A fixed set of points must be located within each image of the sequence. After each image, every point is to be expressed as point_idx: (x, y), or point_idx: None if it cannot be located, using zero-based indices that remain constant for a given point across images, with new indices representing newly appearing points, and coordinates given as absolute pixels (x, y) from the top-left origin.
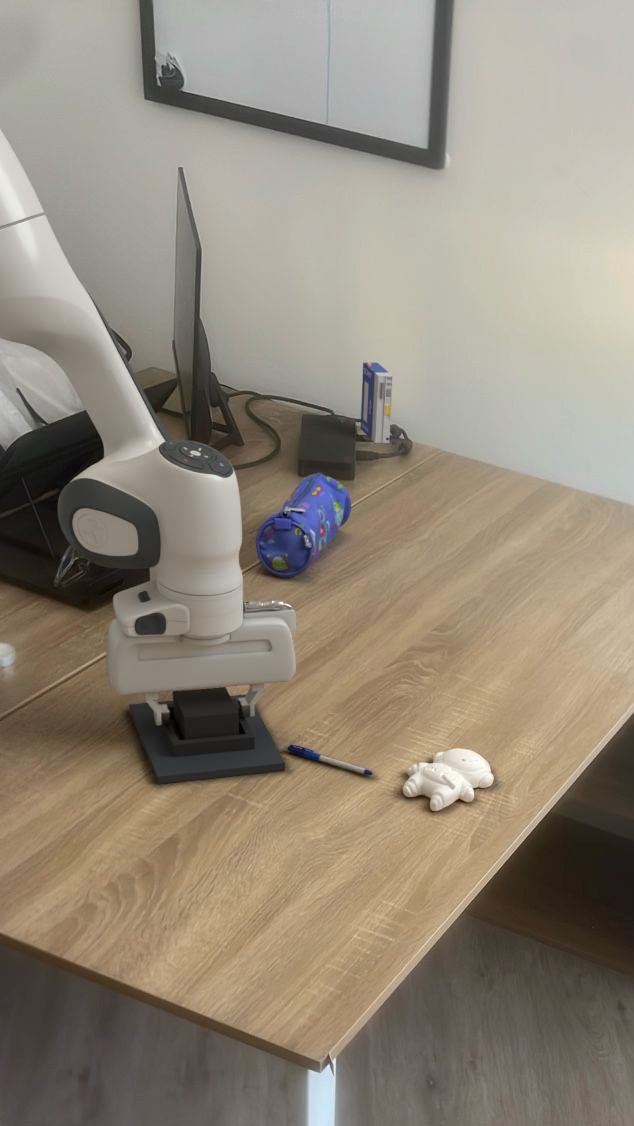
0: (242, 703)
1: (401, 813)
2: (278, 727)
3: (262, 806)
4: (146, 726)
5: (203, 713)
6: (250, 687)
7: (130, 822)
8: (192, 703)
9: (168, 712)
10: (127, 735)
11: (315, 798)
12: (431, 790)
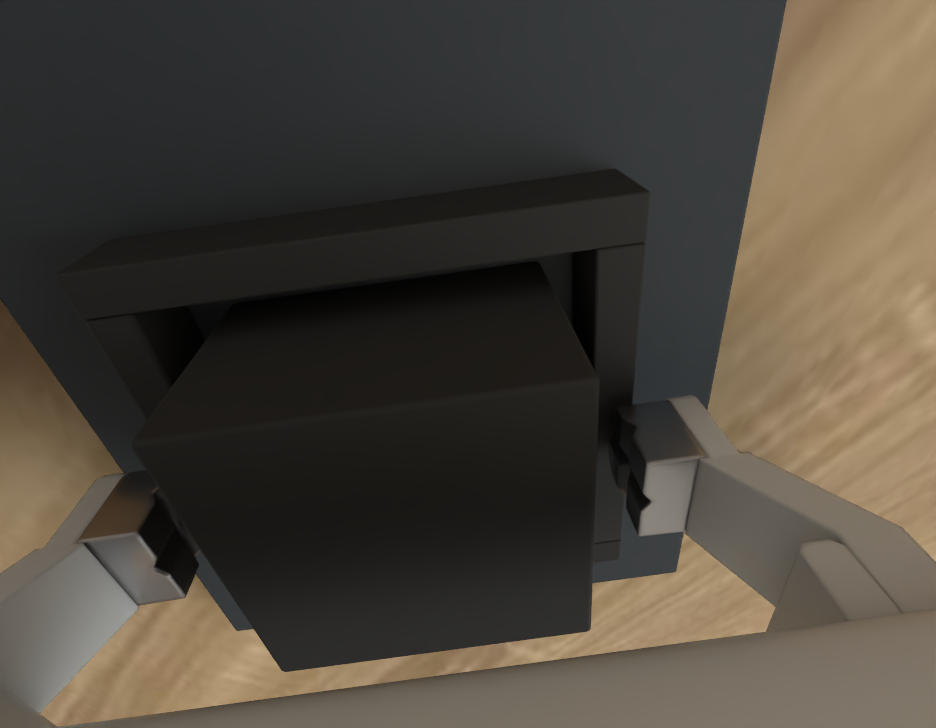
0: (651, 515)
1: None
2: (785, 273)
3: (542, 658)
4: (79, 340)
5: (391, 648)
6: (775, 608)
7: (205, 703)
8: (319, 579)
9: (177, 595)
10: (4, 322)
11: (689, 634)
12: None
